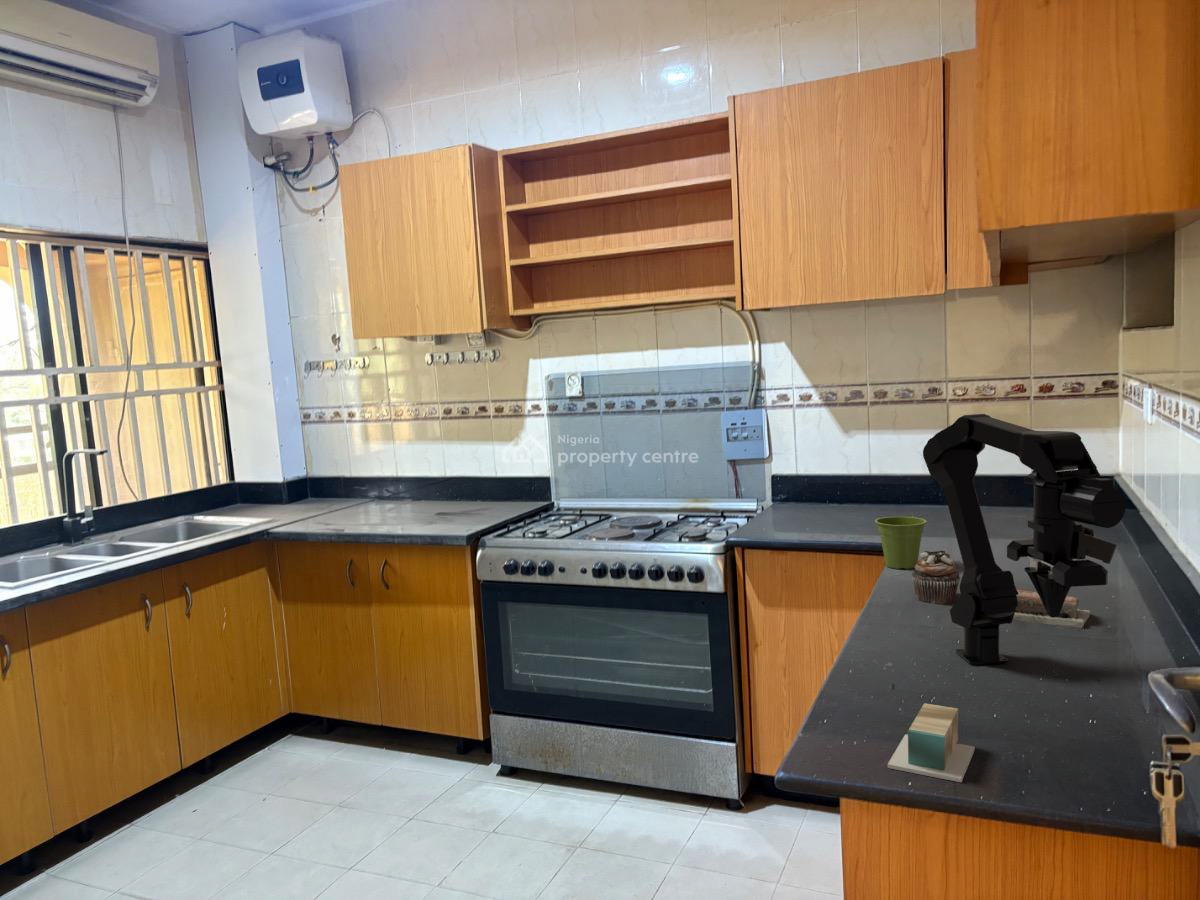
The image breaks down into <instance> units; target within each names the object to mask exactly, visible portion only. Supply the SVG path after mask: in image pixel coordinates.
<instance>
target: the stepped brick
mask: <svg viewBox="0 0 1200 900" xmlns="http://www.w3.org/2000/svg"><path fill="white" fill-rule="evenodd" d="M1016 590H1017V591H1018V593H1019V594H1018V595H1017V599H1018V606H1017V607H1016V610H1015V614H1014V617H1013V620H1012V621H1021V622H1028V623H1034V624H1035V623H1036V624H1044V625H1045V624H1046V625H1050V626H1052V625H1053V626H1061V627H1066V628H1067V627H1068V628H1074V629H1075V628H1077V629H1082V628H1083V627H1084V625H1085V624H1086V623H1087V621H1088V619H1089V617H1090V612H1091V611H1090V609H1089V610H1088V609H1083V610H1081V609H1079V608H1078V605H1079V602H1080V598H1078V597H1076V596H1070V595H1067V596H1066V599H1065V601H1064V604H1063V606H1062V609H1061V611H1060V614H1059V616H1058V617H1057V618H1052V617H1050V616H1049V615H1048V613H1047V611H1046V609H1045V607H1044V605H1043V603H1042V601H1041V599H1040V597H1039V595H1038V593H1037V591H1029V590H1022V589H1016Z"/></svg>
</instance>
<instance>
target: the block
mask: <svg viewBox="0 0 1200 900" xmlns="http://www.w3.org/2000/svg"><path fill="white" fill-rule="evenodd" d="M907 735H908V764H913V765H918V766H923V767H928V768H933V769H938V770H944V769H945V767H946V765H947V763H948V761H949V758H950V756H951V754H952V752H953V750H954V747H955V745H956V743H957V744H958V740H959V708H956V707H950V706H943V705H937V704H930V703H923V705H922V706H921V708H920V710H919V712H918V713H917V715H916V717H915V718H914V720H913V722H912V723H911V725H910V727H909V729H908V730H907Z"/></svg>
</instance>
